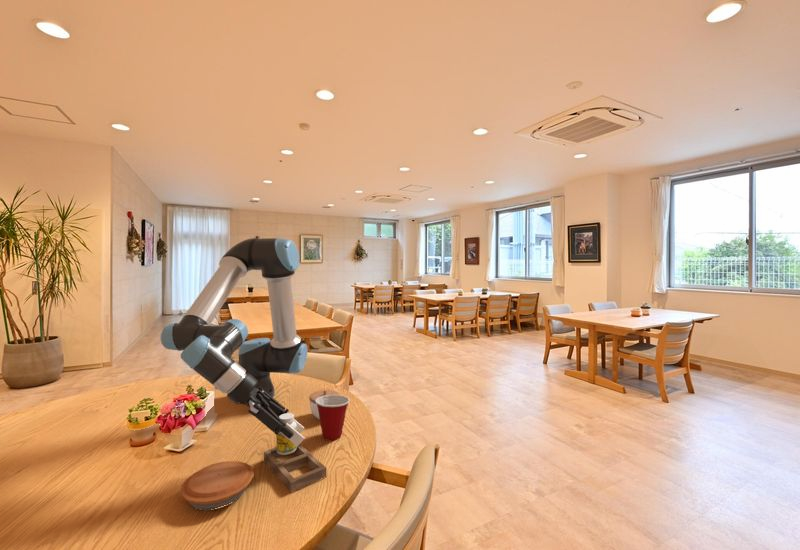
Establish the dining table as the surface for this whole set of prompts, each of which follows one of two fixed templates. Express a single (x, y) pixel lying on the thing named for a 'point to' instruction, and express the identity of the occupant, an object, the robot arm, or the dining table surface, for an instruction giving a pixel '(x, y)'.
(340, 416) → the plastic cup
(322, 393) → the lidded jar
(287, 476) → the two-window wooden frame
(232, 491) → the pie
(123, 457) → the dining table surface
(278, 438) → the supplement bottle
